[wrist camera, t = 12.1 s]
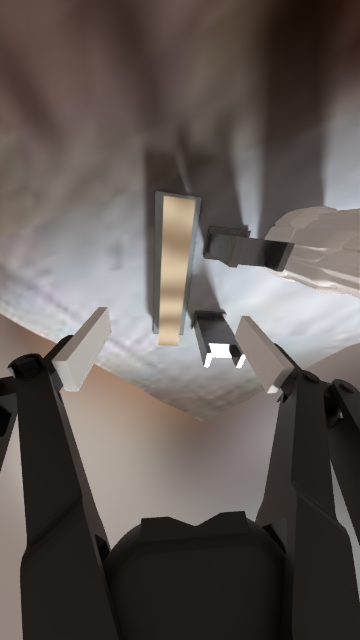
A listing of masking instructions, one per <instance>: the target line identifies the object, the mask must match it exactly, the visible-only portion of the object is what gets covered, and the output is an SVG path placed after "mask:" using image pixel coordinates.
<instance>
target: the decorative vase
mask: <svg viewBox="0 0 360 640" xmlns="http://www.w3.org/2000/svg"><path fill="white" fill-rule="evenodd" d="M264 240H272V241H281V242H289V243H295V245H294V247H293V250H292V252H291V254H290V257H289V259H288V261H287V263H286V266H285V268H284V270H283V272H278V271H274V270H272V269H269V268H267V267H264V268H265V270H266V271H267V272H269V273H271V274H273V275H275V276H277V277H280V278H282V279H285V280H288V281H292V282H299V283H302V284H304V285H306V286H309V287H311V288H314V289H316V290H319V291H321V292H324V293H330V294H349V295H352V296H354V297H357V298H360V209H351V210H340V211H338V210H337V209H334V208H330V207H327V206H319V207H309V208H302V209H296V210H293V211H290V212H288V213H286V214H285V215H283V216H282V217H281V218H280V219H279V220H277V221H276V222H275V226H273V227H271V228H270V230H269V231H268V233H267V235H266V236H265V238H264Z"/></svg>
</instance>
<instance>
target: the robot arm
mask: <svg viewBox="0 0 360 640" xmlns="http://www.w3.org/2000/svg"><path fill="white" fill-rule="evenodd" d="M111 332H112V331H111V325H110V319H109V312H108V308H107V307H99V308H98V309H97V310H96V311H95V312H94V313H93V314H92V316H91V317H90V318H89V319H88V320H87V321H86V322H85V323H84V325H83V326H82V327H81V328H80V329H79V330H78V331H77V333H76V334H75V335H68V336H66V337H65V338H63V339H61V340H60V341H59V342H58V344H57V345H56V346H55V347H54V348H53V349H52V350H51V351H50V352H49V353H48V354H47V355H46V356H45V357H44V358H42V357H41V355H39V354H35V353H34V354H27V355H23V356H21V357H18V358H17V359H15V360H14V361H12V362H11V363H10V364H9V366H8V370H9V371H10V373H11V374H12V375H13V376H10V377H5V378H0V471H1V467H2V464H3V461H4V457H5V454H6V451H7V447H8V444H9V441H10V437H11V434H12V430H13V427H14V423H15V420H16V416H17V413H18V425H19V438H20V451H21V464H22V477H23V491H24V504H25V517H26V531H27V547H26V550H25V553H24V555H23V557H22V562H21V567H20V588H21V608H22V629H23V640H360V602H359V594H358V587H357V580H356V573H355V567H354V560H353V553H352V546H351V542H350V538H349V535H348V533H347V531H346V529H345V528H344V527H343V526H342V525H341V524H340V523H339V522H338V520H337V518H336V514H335V504H334V494H333V485H332V475H331V466H330V460H331V463H332V466H333V469H334V472H335V475H336V477H337V481H338V483H339V486H340V489H341V492H342V495H343V498H344V501H345V504H346V507H347V510H348V513H349V516H350V519H351V521H352V524H353V527H354V530H355V533H356V536H357V539H358V542H359V545H360V392H359V391H358V390H357V389H356V388H355V387H354V386H353V385H351V384H349V383H348V382H346V381H343V380H339V379H335V380H334V381H333V382H332V383H327V382H324V381H321V380H320V379H319V378H318V377H317V376H316V375H314V374H312V373H311V372H308V371H305V370H302V369H301V368H300V367H299V366H298V365H297V364H296V363H295V362H294V361H293V360H292V358H291V357H289V355H288V354H287V353H286V352H285V351H284V350H283V349H282V348H281V347H280V346H278V345H277V344H276V343H273V342H272V341H271V340H270V339H269V338H268V337H267V336H266V334H265V333H264V332H263V331H262V330H261V329H260V328H259V327H258V325H257V324H256V323H255V322H254V321H253V320H252V319H251V318H250V316H242V318H241V320H240V323H239V326H238V329H237V332H236V334H235V339H236V341H237V343H238V344H239V346H240V348H241V349H242V351H243V353H244V354H245V356H246V358H247V360H248V361H249V363H250V365H251V366H252V368H253V370H254V372H255V373H256V375H257V377H258V378H259V380H260V382H261V384H262V385H263V387H264V389H265V390H266V392H267V393H277V392H278V390H279V389H280V388H281V389H282V391H283V393H282V395H281V396H280V397H279V399H278V400H277V402H279V401H280V406H279V412H278V417H277V424H276V429H275V435H274V441H273V447H272V452H271V458H270V464H269V471H268V476H267V482H266V488H265V493H264V499H263V502H262V504H261V507H260V509H259V511H258V514H257V517H256V521H255V522H253V521H251V520H250V519H248V518H246V515H245V511H239V512H238V511H237V512H224V513H219V514H218V515H216V516H214V517H212V518H210V519H209V520H207V521H205V522H203V523H202V524H200V525H198V526H193V525H190V524H187V523H184V522H181V521H179V520H176V519H173V518H171V517H156V518H142V519H141V524H139V525H138V526H136V527H134V528H133V529H132V530H130V531H129V532H127V534H125V535H124V536H123V537H122V538H121V539H120V540H119V541H118V543H117V544H116V545H115V546H114V548H113V549H112V550H111V548H110V545H109V542H108V539H107V536H106V533H105V530H104V527H103V524H102V521H101V519H100V517H99V514H98V512H97V509H96V506H95V503H94V500H93V496H92V493H91V490H90V486H89V483H88V480H87V477H86V474H85V470H84V467H83V464H82V461H81V458H80V454H79V451H78V449H77V445H76V442H75V439H74V435H73V432H72V429H71V426H70V422H69V419H68V416H67V413H66V410H65V407H64V403H63V400H62V397H61V394H60V392H59V391H60V389H61V388H62V387H63V386H64V389H65V391H79V389H80V387H81V386H82V384H83V382H84V380H85V378H86V377H87V375H88V373H89V371H90V369H91V368H92V366H93V364H94V362H95V361H96V359H97V357H98V355H99V353H100V352H101V350H102V348H103V346H104V344H105V343H106V341H107V339H108V337H109V335H110V334H111ZM341 412H342V415H343V418H341V416H340V413H341Z"/></svg>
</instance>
